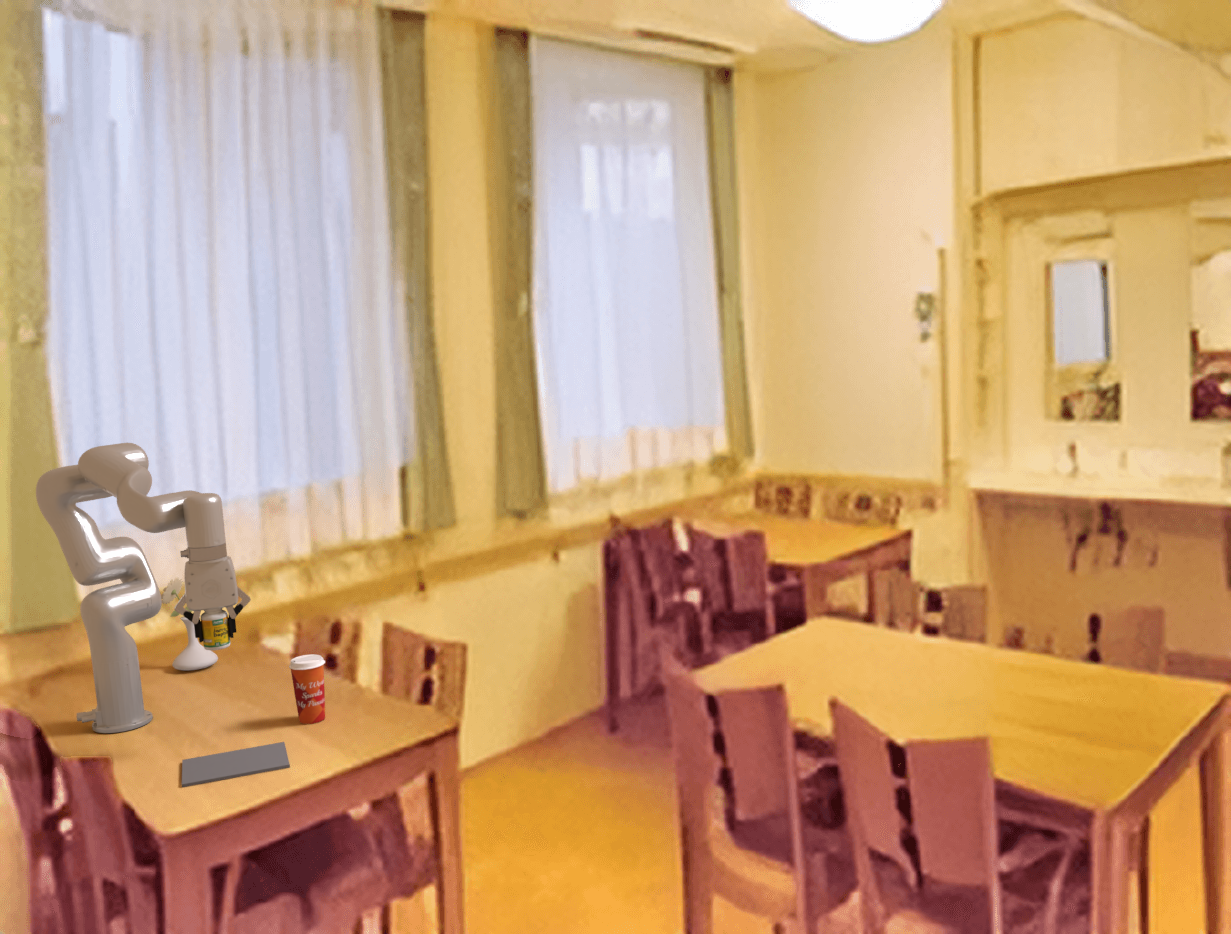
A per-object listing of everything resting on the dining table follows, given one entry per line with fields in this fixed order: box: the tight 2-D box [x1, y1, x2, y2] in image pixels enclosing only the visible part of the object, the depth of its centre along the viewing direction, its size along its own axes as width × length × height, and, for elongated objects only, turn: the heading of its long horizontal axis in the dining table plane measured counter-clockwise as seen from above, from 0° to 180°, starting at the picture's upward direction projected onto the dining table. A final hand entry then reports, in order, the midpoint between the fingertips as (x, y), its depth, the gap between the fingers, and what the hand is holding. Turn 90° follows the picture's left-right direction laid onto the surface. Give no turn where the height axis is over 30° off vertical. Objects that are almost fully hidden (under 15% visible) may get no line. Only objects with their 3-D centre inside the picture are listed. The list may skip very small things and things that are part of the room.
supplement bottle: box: [200, 608, 231, 651], centre depth 233 cm, size 5×5×10 cm
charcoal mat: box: [181, 741, 291, 788], centre depth 225 cm, size 20×14×1 cm
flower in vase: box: [161, 577, 219, 672], centre depth 294 cm, size 13×11×25 cm
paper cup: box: [288, 653, 326, 725], centre depth 248 cm, size 8×8×14 cm
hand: (216, 637), depth 234 cm, fingers closed on supplement bottle, 5 cm apart
